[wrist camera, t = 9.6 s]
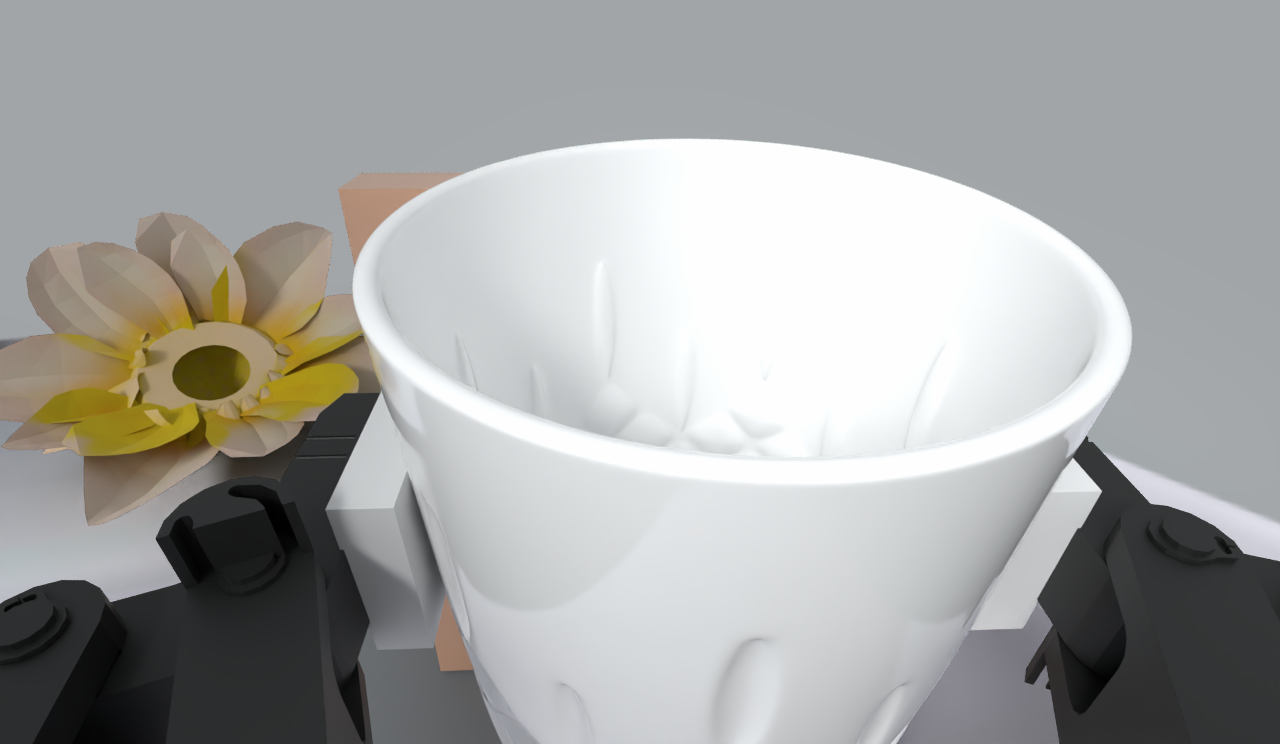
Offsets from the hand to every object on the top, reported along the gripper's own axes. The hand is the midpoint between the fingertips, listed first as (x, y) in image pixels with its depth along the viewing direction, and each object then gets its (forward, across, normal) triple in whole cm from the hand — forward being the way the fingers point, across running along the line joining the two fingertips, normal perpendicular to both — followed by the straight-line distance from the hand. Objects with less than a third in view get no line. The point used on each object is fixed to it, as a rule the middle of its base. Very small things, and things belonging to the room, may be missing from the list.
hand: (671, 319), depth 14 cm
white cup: (-5, 0, -6) cm, 8 cm away
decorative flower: (+10, -18, -12) cm, 24 cm away
